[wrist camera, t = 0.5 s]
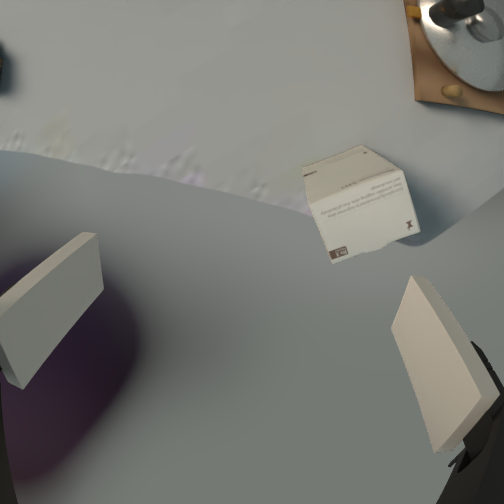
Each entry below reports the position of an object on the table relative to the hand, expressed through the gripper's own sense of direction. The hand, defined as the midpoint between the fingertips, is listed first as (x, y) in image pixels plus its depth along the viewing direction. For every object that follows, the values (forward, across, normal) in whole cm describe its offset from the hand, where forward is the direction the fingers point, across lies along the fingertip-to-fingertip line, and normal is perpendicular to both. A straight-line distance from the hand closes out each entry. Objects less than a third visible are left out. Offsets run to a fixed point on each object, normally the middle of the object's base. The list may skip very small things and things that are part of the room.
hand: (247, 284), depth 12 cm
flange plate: (+25, +23, +24) cm, 42 cm away
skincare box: (+27, +8, 0) cm, 28 cm away
